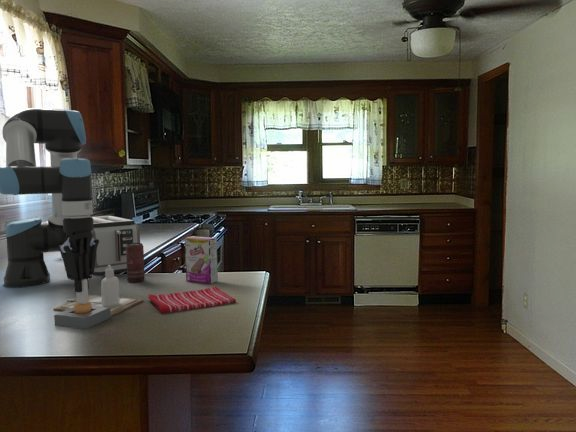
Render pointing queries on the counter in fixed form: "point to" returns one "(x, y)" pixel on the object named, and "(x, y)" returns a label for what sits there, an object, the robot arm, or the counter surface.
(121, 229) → the toaster
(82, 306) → the button
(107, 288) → the eye dropper bottle
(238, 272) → the counter surface
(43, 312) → the counter surface
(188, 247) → the candy bar box
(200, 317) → the counter surface
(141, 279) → the can
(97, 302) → the brown picture frame
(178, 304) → the dish towel
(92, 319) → the button housing
